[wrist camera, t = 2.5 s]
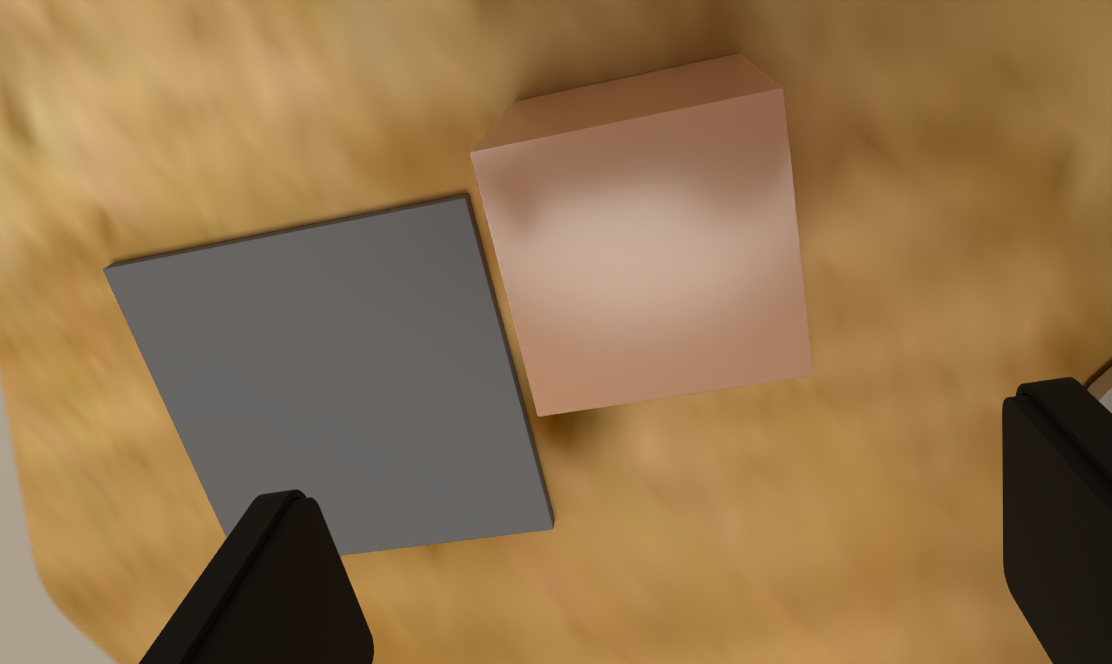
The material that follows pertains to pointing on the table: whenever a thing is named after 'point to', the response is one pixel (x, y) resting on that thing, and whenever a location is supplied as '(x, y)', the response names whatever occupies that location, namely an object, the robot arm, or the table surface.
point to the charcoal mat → (345, 375)
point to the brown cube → (649, 235)
